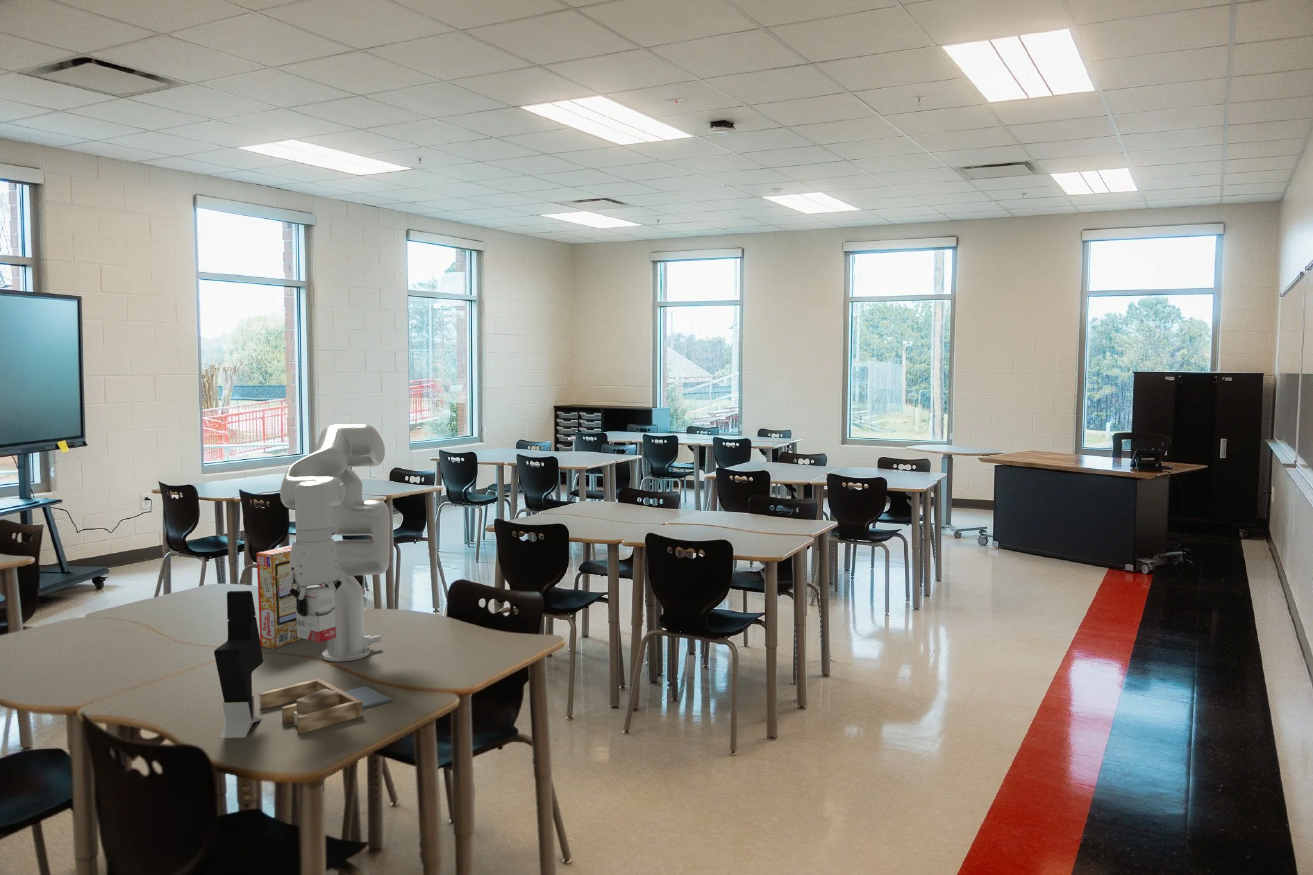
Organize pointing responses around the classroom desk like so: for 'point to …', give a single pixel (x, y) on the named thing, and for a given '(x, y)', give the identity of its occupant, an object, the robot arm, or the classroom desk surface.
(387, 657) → the classroom desk surface
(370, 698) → the mat
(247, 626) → the award
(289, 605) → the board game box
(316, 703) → the offcut
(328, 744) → the classroom desk surface
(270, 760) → the classroom desk surface
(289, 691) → the rack
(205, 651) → the classroom desk surface
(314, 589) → the ink box
